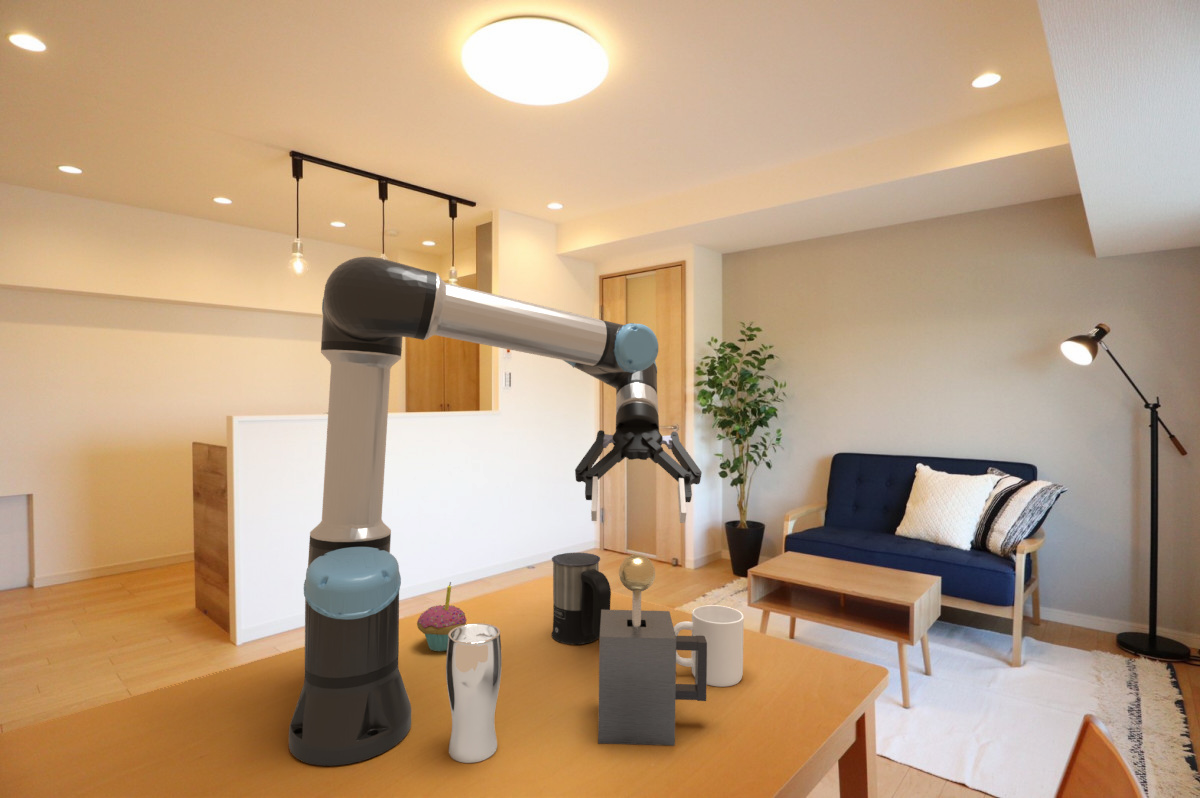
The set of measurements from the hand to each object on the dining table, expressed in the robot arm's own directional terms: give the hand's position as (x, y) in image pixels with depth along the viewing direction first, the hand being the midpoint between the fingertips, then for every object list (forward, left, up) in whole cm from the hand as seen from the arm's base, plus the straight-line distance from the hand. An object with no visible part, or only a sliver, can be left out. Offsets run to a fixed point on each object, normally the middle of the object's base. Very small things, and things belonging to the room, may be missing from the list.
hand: (638, 517), depth 92 cm
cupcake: (-34, +16, -27) cm, 47 cm away
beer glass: (-21, -15, -27) cm, 38 cm away
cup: (+12, +7, -27) cm, 30 cm away
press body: (+2, -8, -27) cm, 28 cm away
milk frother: (-7, +23, -27) cm, 37 cm away
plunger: (0, -8, -25) cm, 27 cm away
